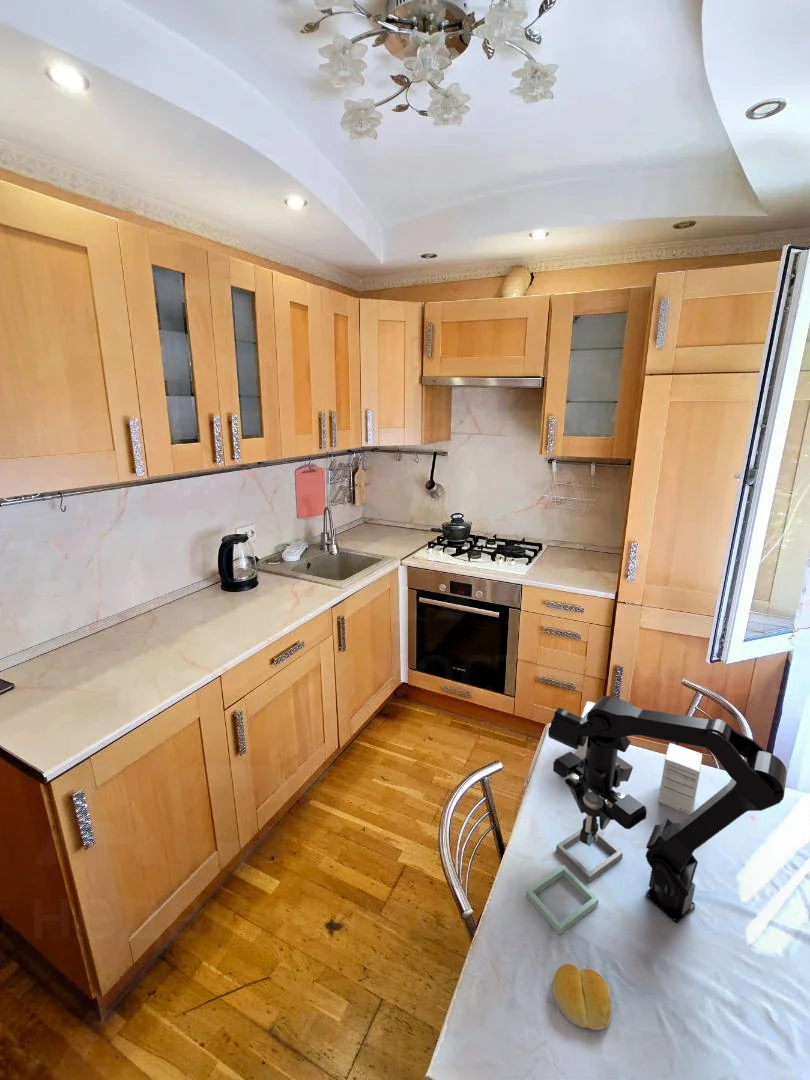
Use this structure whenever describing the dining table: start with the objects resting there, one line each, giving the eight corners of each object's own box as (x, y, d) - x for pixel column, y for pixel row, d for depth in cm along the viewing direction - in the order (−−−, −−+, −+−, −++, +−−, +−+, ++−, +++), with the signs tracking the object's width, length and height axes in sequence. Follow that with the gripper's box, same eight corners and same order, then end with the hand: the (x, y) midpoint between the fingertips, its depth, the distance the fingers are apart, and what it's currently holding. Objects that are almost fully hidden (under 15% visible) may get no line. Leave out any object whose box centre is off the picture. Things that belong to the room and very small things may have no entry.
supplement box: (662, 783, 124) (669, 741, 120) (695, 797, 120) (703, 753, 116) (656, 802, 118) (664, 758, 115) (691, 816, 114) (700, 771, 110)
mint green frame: (597, 905, 93) (598, 899, 93) (559, 935, 88) (560, 928, 88) (562, 870, 101) (563, 864, 100) (525, 895, 95) (526, 889, 95)
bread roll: (551, 966, 83) (553, 949, 82) (606, 981, 81) (609, 963, 80) (552, 1023, 76) (555, 1004, 75) (614, 1041, 74) (617, 1022, 73)
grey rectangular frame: (622, 858, 103) (622, 852, 103) (588, 882, 98) (589, 876, 98) (588, 829, 110) (589, 823, 110) (556, 850, 105) (556, 844, 105)
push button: (583, 819, 107) (587, 781, 105) (608, 832, 104) (613, 793, 101) (572, 839, 102) (575, 799, 100) (597, 853, 99) (601, 812, 96)
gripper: (668, 771, 94) (657, 836, 98) (588, 720, 109) (582, 777, 114) (633, 794, 88) (622, 861, 93) (554, 736, 104) (548, 796, 108)
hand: (592, 820), depth 102 cm, fingers closed on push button, 5 cm apart
